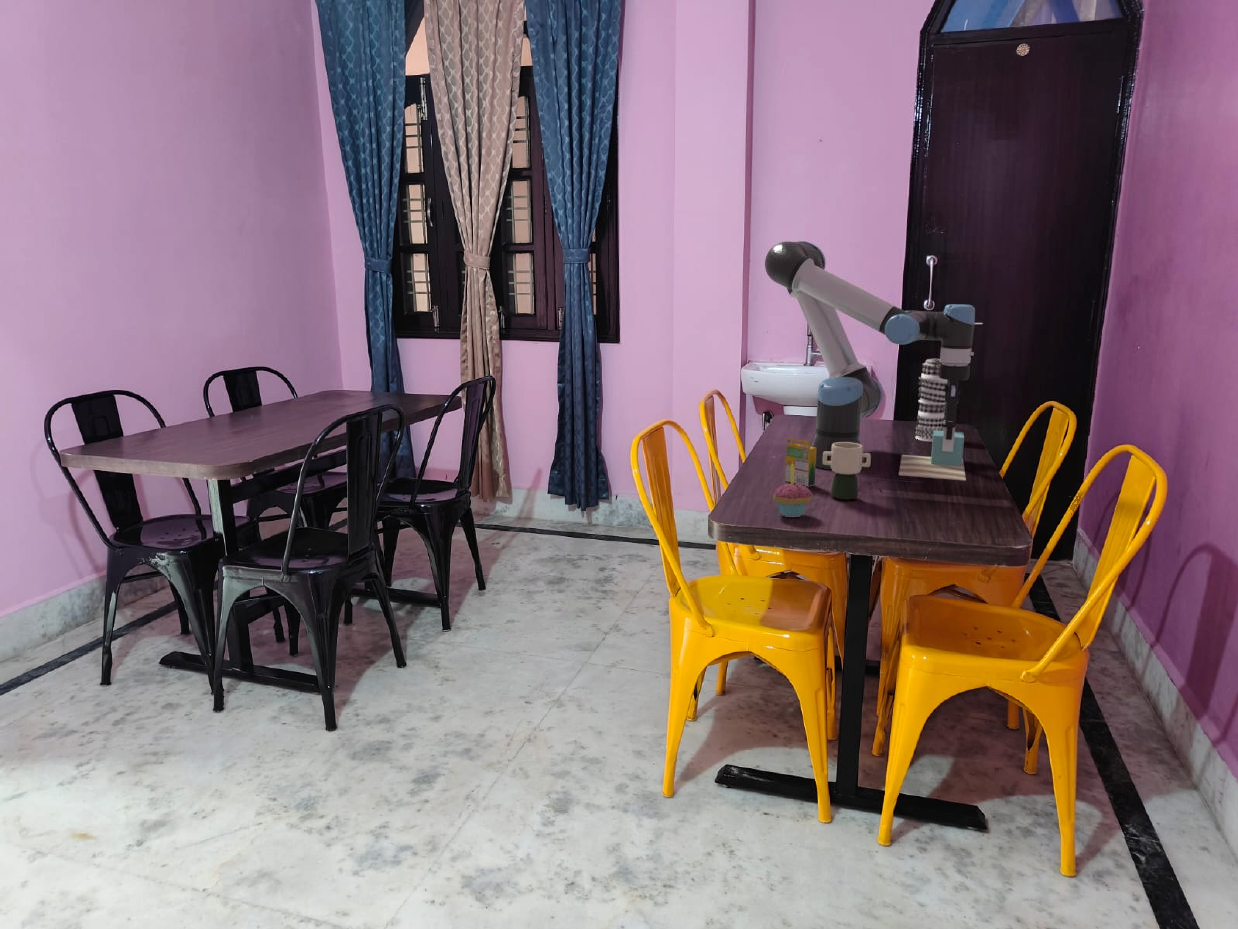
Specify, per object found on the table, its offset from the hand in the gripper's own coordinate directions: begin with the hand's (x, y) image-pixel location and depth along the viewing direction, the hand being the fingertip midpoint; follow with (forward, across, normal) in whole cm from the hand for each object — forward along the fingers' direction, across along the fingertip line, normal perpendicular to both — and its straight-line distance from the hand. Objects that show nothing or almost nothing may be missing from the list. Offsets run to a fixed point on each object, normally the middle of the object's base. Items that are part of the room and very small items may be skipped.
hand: (947, 447), depth 228 cm
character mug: (+6, -40, +23) cm, 47 cm away
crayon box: (+6, -30, +35) cm, 47 cm away
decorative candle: (+6, +38, +4) cm, 38 cm away
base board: (+6, -7, +4) cm, 10 cm away
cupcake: (+6, -58, +33) cm, 67 cm away
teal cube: (+4, 0, 0) cm, 4 cm away
